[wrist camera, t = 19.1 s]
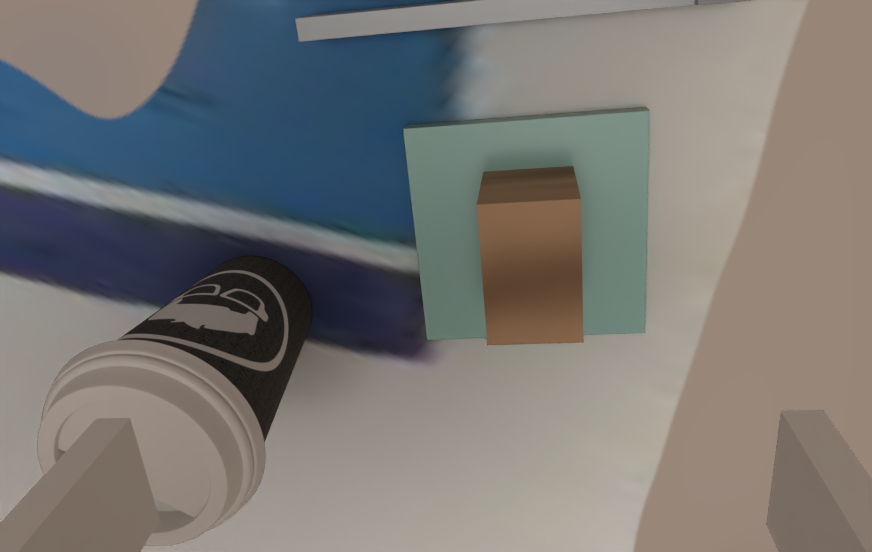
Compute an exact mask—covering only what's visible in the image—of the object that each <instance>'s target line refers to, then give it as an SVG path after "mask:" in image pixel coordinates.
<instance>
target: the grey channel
mask: <svg viewBox="0 0 872 552" xmlns="http://www.w3.org/2000/svg"><path fill="white" fill-rule="evenodd" d="M738 1H749V0H453V1H443V2H433V3H423V4H413V5H403V6H393V7H383V8H373V9H363V10H352V11H342V12H332V13H322V14H313V15H309V16H304V17H300V18H296V25H297V31H298V38H299V42H300V41H311V40H322V39H332V38H343V37H354V36H364V35H375V34H386V33H396V32H407V31H418V30H428V29H439V28H450V27H461V26H471V25H482V24H493V23H503V22H514V21H525V20H535V19H546V18H557V17H567V16H578V15H589V14H599V13H610V12H621V11H631V10H642V9H653V8H663V7H674V6H685V5H706V4H717V3H728V2H738Z"/></svg>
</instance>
